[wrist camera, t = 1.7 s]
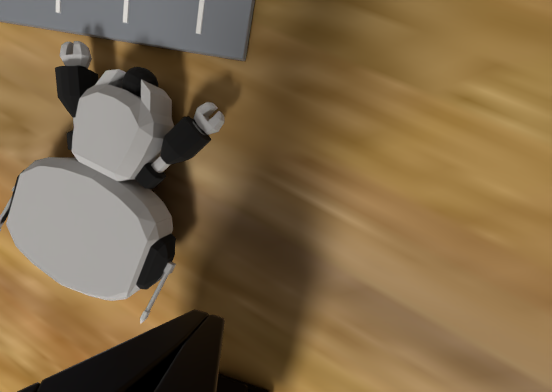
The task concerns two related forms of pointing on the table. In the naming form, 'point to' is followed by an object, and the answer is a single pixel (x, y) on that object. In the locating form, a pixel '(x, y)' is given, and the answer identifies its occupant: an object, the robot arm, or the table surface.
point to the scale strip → (145, 22)
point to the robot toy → (106, 183)
